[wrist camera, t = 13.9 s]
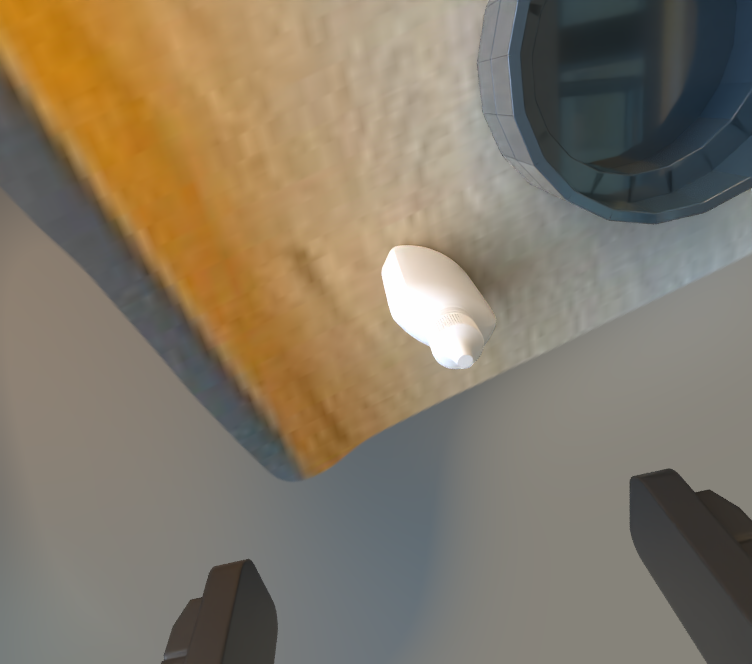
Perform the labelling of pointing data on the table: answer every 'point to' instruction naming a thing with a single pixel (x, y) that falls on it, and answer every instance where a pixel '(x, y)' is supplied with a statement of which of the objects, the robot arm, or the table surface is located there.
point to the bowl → (622, 101)
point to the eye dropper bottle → (437, 304)
